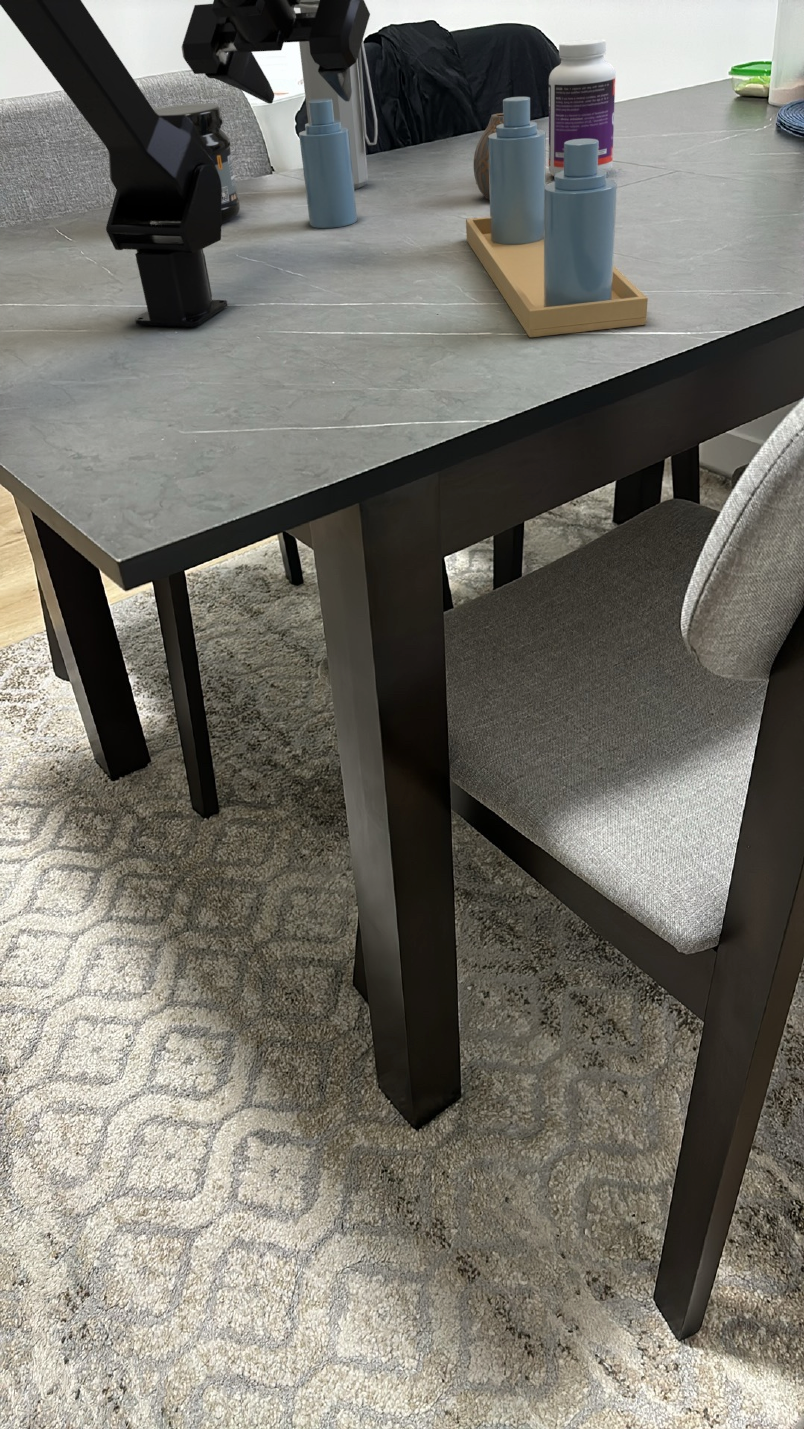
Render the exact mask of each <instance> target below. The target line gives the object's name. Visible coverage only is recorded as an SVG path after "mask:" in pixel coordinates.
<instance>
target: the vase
mask: <svg viewBox="0 0 804 1429" xmlns="http://www.w3.org/2000/svg"><path fill="white" fill-rule="evenodd" d="M500 124H503V112H500V113H494V114H491V116H490V119H489V122H488V125H487V126H486V127H485V130H484V132H483V133H482V134H481V135H480V138H479V140H478V142H477V144H476V146H475V150H474V155H473V176H474V180H475V183H476V186H477V188H478V191H479V192H480V193H481V194H482V196H484V197H485V198H486V199H487V200H489V201H490V191H489V148H488V136H489V135H490V134H493V133H496V126H498V125H500Z"/></svg>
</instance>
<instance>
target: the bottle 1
mask: <svg viewBox="0 0 804 1429" xmlns="http://www.w3.org/2000/svg"><path fill="white" fill-rule="evenodd" d="M502 113H503V124H500V125H498V126H496V133H493V134H490V135H489V136H488V148H489V191H490V200H489V217H490V233H491V241H492V242H494V243H498V244H506V245H518V244H527V243H533V242H536V241H539V240H541V239H543V238H544V187H545V186H546V153H547V152H546V150H547V149H546V148H547V147H546V143H547V142H546V141H547V139H546V136H547V134H546V133H547V132H546V131H545V130H543V129H538V123H537V122H536V121H531V97H530V96H511V97H506V98H504V99H503V100H502Z"/></svg>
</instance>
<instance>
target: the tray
mask: <svg viewBox="0 0 804 1429" xmlns="http://www.w3.org/2000/svg"><path fill="white" fill-rule="evenodd" d="M465 231H466V232H465V233H466V235H465V236H466V242H467V244H468V245H469V246H470V248H471V249H472V251H473V252H474V254H475V255H476V257H477V258H478V260H479V262H480V264H482V266H483V268H484V269H485V271H486V272H487V274H488V276H489V277H490V279H491V280H492V282H493V283H494V285H495V287H496V288H497V289H498V291H499V293H500V295H501V296H502V297H503V299H504V300H505V302H506V303H507V305H508V306H509V308H510V310H511V311H512V313H513V314H514V316H515V317H516V319H517V321H518V322H519V323H520V325H521V327H522V328H523V330H524V331H525V333H526V334H527V336H528V337H529V338H539V337H547V336H554V335H565V334H566V335H567V334H574V333H575V334H576V333H582V332H591V331H600V330H608V329H619V328H627V327H636V326H645V325H647V316H648V315H647V314H648V301H649V300H648V299H649V298H648V297H647V296H646V295H645V294H644V293H643V291H641V290H640V289H639V288H638V287H637V286H636V285H635V284H633V282H632V281H631V280H629V278H627V277H626V276H625V275H624V274H623V273H622V272H621V271H620V270H619V269H618V268H617V267H615V265H614V264H613V281H612V300H606V301H597V302H588V303H579V304H570V305H561V306H552V307H543V287H544V238H543V239H541V240H539V241H536V242H533V243H527V244H518V245H506V244H498V243H494V242H492V241H491V233H490V216H484V217H474V218H466V219H465Z"/></svg>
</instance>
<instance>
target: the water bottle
mask: <svg viewBox="0 0 804 1429" xmlns="http://www.w3.org/2000/svg"><path fill="white" fill-rule="evenodd" d="M319 2H320V0H301V1H300V4H299V5H295V7H294V9H299V11H300V12H299V13H307V12H317V8H318V5H319ZM298 44H299V54H300V62H301V72H302V80H303V88H304V96H305V104H306V105H305V106H306V114H307V123H310V122H311V117H310V109H309V101H311V100H316V99H332V104H333V114H334V120H339V121H340V122H341V127H346V128H348V129H349V140H350V150H351V161H352V171H353V181H354V190H358V189H360V188H363V187H364V186H365V185H366V183H367V182H368V179H369V174H368V164H367V154H366V153H367V151H366V150H367V149H366V144H367V145H368V146H375V145H377V141H378V117H377V111H376V106H375V100H374V95H373V89H372V82H371V76H370V70H369V65H368V60H367V56H366V55H367V54H366V49H365V43H364V40H363V41H362V44H361V47H360V51H359V54H358V58H357V61H356V63H355V64H353V65H352V66H351V67H350V77H351V89H352V94H351V98H350V101H349V102H346V101H345V100H343V99H342V98H341V97H340V96H339V95H338V94H337V93H336V92H335V91H334V89H333V88H332V87H331V86H330V85H329V84H328V83H327V82H326V81H325V79H324V78H323V77H322V76H321V75H320V74H319V73H318V69H319V65H318V64H317V63H315V62H314V60H313V58H312V56H311V54H310V45H309V41H305V42H298ZM362 56H363V62H364V68H365V76H366V80H367V86H368V91H369V99H370V105H371V109H372V116H373V123H374V137H373V142H370V139H369V137H368V134H367V124H366V109H365V108H366V107H365V94H364V93H365V92H364V79H363V78H364V77H363V64H362Z"/></svg>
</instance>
